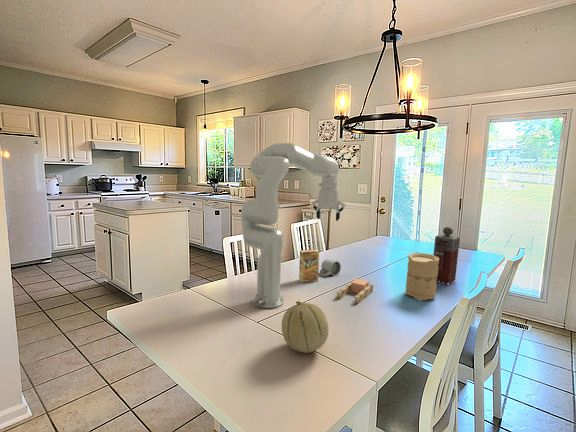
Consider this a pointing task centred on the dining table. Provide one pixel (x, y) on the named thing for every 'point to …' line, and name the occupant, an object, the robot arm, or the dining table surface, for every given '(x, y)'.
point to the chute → (359, 296)
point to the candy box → (308, 265)
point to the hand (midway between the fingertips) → (327, 219)
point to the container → (422, 276)
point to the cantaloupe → (305, 327)
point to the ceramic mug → (330, 268)
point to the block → (358, 285)
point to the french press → (446, 255)
